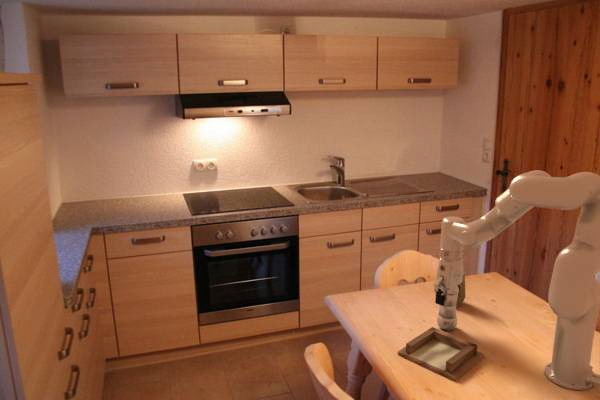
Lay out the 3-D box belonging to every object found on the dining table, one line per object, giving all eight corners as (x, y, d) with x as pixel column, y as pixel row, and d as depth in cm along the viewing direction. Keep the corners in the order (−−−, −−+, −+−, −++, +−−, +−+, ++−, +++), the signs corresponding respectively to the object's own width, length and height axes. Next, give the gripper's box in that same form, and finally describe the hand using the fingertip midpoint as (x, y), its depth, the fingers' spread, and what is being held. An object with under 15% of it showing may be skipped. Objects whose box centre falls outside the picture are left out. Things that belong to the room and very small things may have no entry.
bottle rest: (484, 357, 154) (485, 345, 153) (455, 381, 142) (455, 368, 141) (428, 334, 168) (429, 323, 167) (397, 354, 156) (398, 342, 155)
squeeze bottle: (467, 302, 192) (470, 258, 187) (461, 310, 185) (465, 265, 181) (446, 297, 196) (449, 254, 191) (440, 305, 189) (443, 261, 185)
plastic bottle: (457, 333, 168) (461, 278, 163) (437, 331, 170) (440, 277, 165) (455, 324, 174) (459, 271, 170) (436, 322, 176) (439, 270, 171)
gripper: (447, 263, 157) (443, 311, 161) (474, 250, 169) (469, 295, 173) (427, 256, 162) (423, 304, 167) (454, 244, 174) (450, 289, 178)
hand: (447, 300), depth 170 cm, fingers open, 9 cm apart
